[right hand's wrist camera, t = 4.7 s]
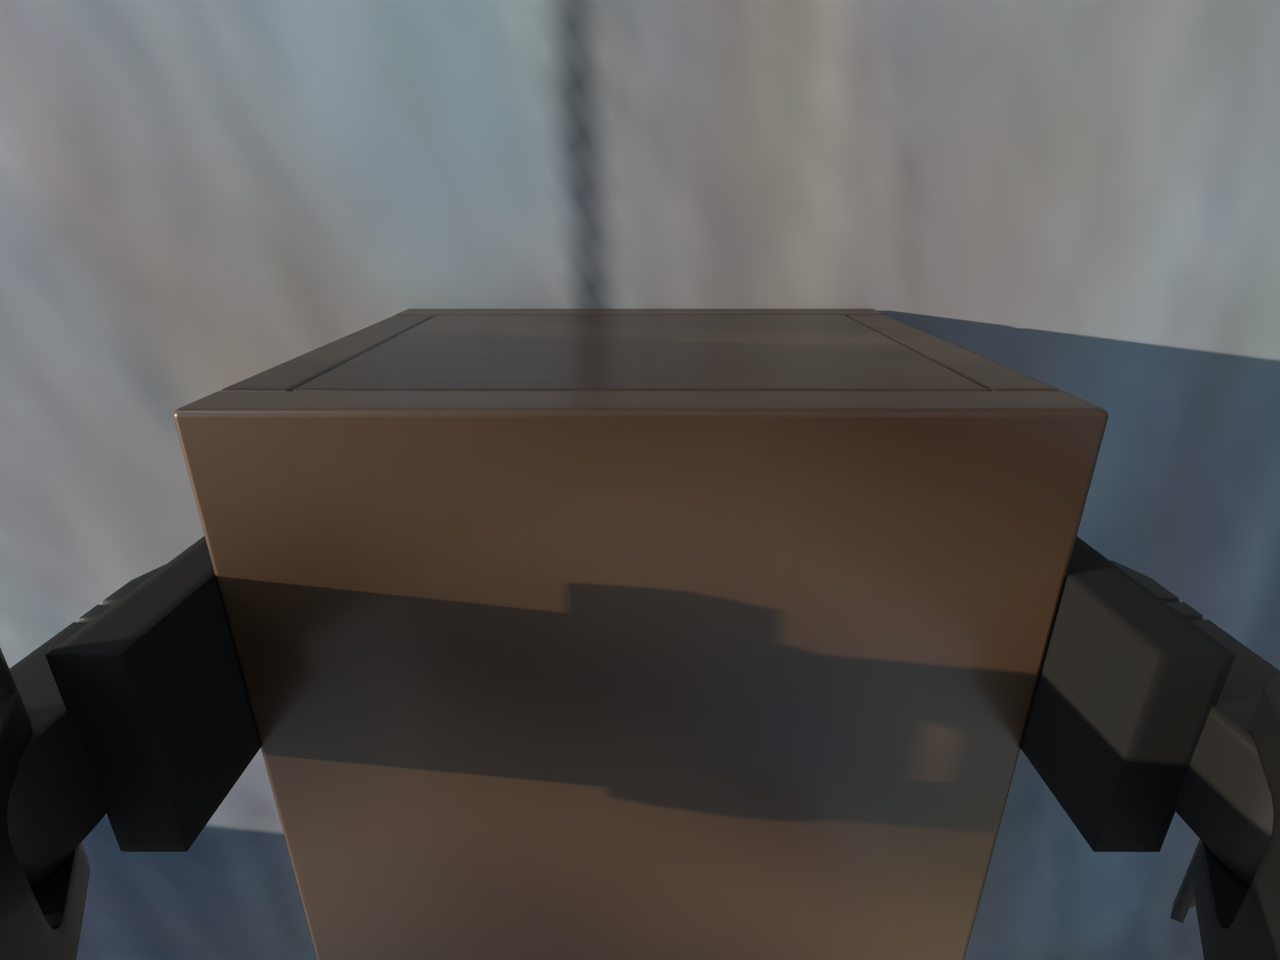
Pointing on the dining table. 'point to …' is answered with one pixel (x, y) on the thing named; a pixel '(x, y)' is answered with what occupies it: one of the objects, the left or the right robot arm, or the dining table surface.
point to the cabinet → (640, 625)
